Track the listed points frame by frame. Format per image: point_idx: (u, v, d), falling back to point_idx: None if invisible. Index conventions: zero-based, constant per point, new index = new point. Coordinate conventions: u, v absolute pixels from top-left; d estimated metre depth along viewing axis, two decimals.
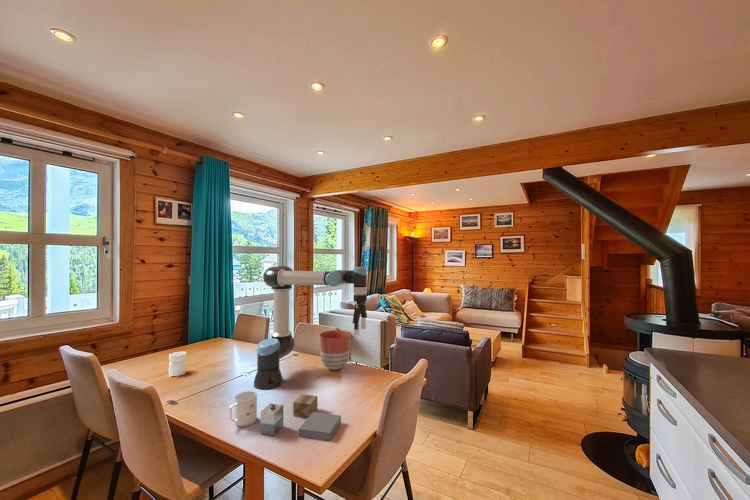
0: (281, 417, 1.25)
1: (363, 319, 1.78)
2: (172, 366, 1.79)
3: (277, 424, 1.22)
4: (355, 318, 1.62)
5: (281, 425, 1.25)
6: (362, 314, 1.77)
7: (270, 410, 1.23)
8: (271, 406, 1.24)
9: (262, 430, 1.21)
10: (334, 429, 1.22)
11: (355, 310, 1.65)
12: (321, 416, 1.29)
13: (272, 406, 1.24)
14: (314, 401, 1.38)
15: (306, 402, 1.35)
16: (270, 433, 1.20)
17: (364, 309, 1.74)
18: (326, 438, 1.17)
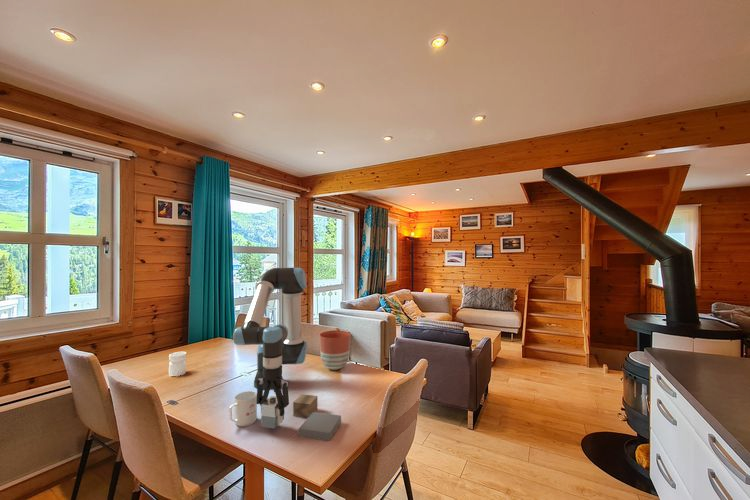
0: None
1: None
2: (172, 366, 1.79)
3: None
4: None
5: None
6: None
7: (271, 402, 1.23)
8: (272, 399, 1.24)
9: (263, 422, 1.22)
10: (334, 429, 1.22)
11: None
12: (321, 416, 1.29)
13: (273, 399, 1.24)
14: (314, 401, 1.38)
15: (306, 402, 1.35)
16: (271, 425, 1.21)
17: (274, 391, 1.22)
18: (326, 438, 1.17)
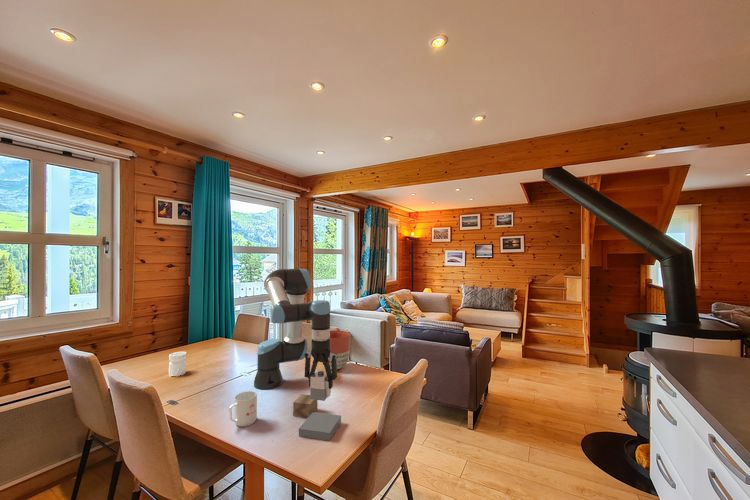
0: None
1: None
2: (172, 366, 1.79)
3: None
4: None
5: None
6: None
7: (319, 375, 1.24)
8: (320, 372, 1.25)
9: (312, 395, 1.22)
10: (334, 429, 1.22)
11: None
12: (321, 416, 1.29)
13: (321, 372, 1.25)
14: (314, 401, 1.38)
15: (306, 402, 1.35)
16: (320, 398, 1.21)
17: (323, 364, 1.23)
18: (326, 438, 1.17)
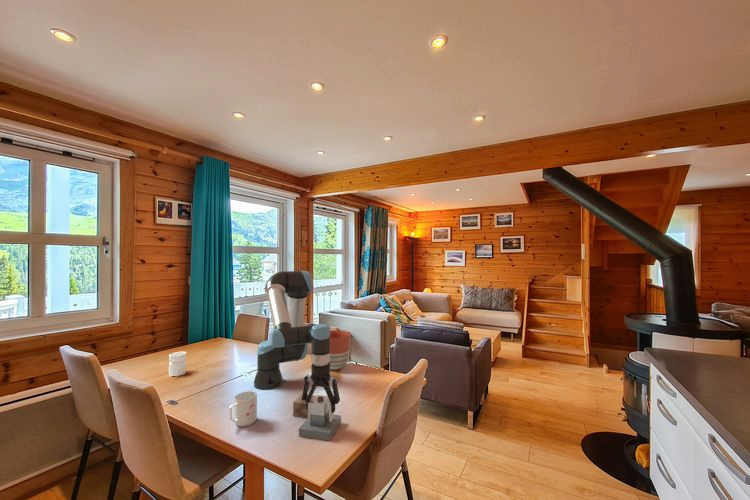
0: None
1: None
2: (172, 366, 1.79)
3: (326, 415, 1.23)
4: None
5: None
6: None
7: (319, 401, 1.23)
8: (319, 397, 1.25)
9: (312, 421, 1.22)
10: (334, 429, 1.22)
11: None
12: None
13: (320, 397, 1.25)
14: None
15: None
16: (320, 424, 1.21)
17: (324, 388, 1.23)
18: (326, 438, 1.17)
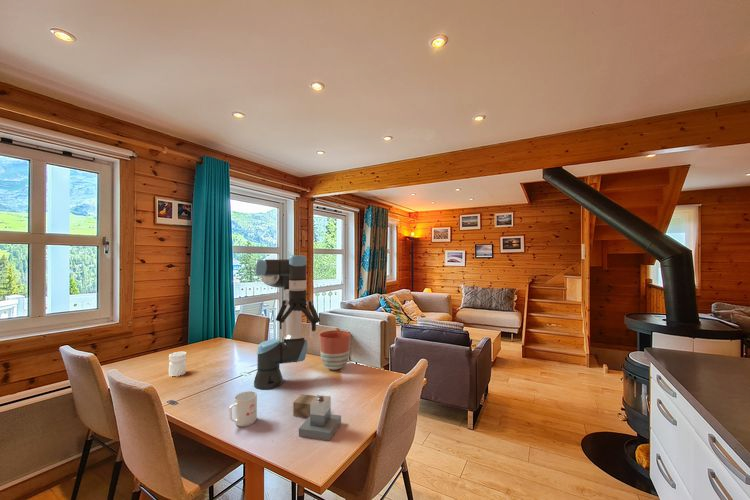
0: (329, 409, 1.26)
1: None
2: (172, 366, 1.79)
3: (326, 415, 1.23)
4: None
5: (329, 416, 1.26)
6: None
7: (319, 401, 1.23)
8: (319, 397, 1.25)
9: (312, 421, 1.22)
10: (334, 429, 1.22)
11: None
12: None
13: (320, 397, 1.25)
14: None
15: (306, 402, 1.35)
16: (320, 424, 1.21)
17: (302, 311, 1.33)
18: (326, 438, 1.17)
